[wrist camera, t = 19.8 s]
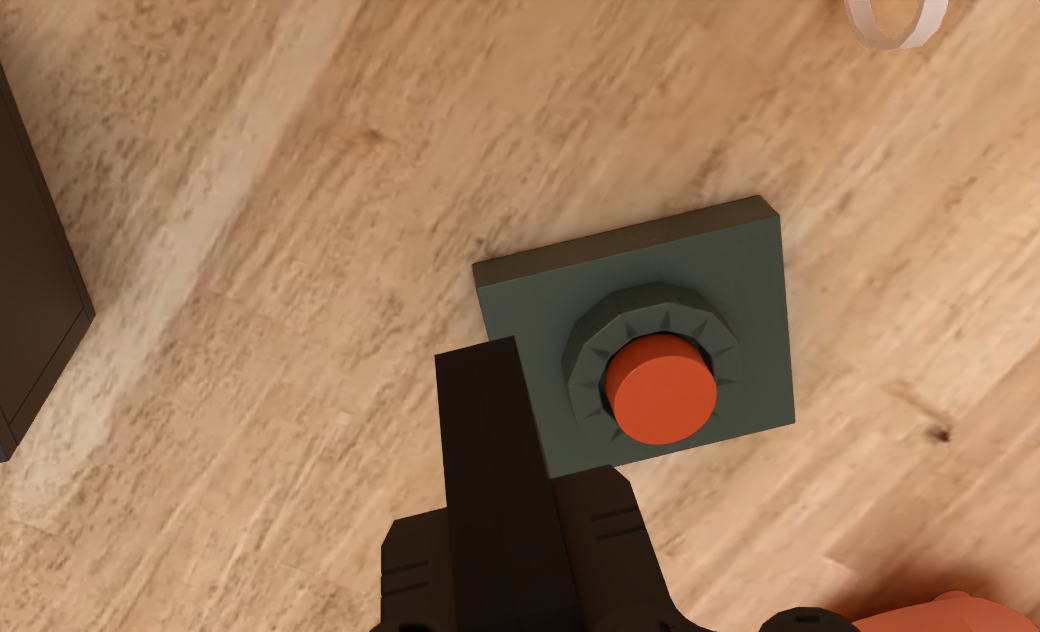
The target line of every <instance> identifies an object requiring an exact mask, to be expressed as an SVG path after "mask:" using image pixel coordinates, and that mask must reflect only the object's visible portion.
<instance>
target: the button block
mask: <svg viewBox="0 0 1040 632" xmlns="http://www.w3.org/2000/svg"><path fill="white" fill-rule="evenodd" d="M472 271H473V276H474V282H475V287H476V292H477V296H478V299H479V303H480V307H481V311H482V315H483V319H484V323H485V327H486V330H487V334H488V338H489V341H493V340H497V339H501V338H505V337H509V336H513V335H514V336H515V340H516V344H517V348H518V352H519V356H520V360H521V363H522V367H523V371H524V375H525V379H526V383H527V387H528V391H529V394H530V398H531V402H532V406H533V410H534V414H535V418H536V422H537V426H538V429H539V433H540V437H541V441H542V445H543V449H544V453H545V457H546V461H547V465H548V470H549V474H550V478H551V479H552V478H556V477H560V476H564V475H568V474H572V473H576V472H580V471H584V470H588V469H592V468H596V467H600V466H604V465H608V464H610V465H611V466H612V467H616V466H620V465H624V464H629V463H633V462H637V461H641V460H645V459H649V458H653V457H657V456H661V455H666V454H670V453H674V452H678V451H682V450H686V449H690V448H694V447H698V446H703V445H707V444H711V443H715V442H719V441H723V440H727V439H731V438H735V437H740V436H744V435H748V434H752V433H756V432H760V431H764V430H768V429H772V428H777V427H781V426H785V425H789V424H793V423H795V409H794V396H793V383H792V370H791V357H790V344H789V331H788V318H787V304H786V291H785V278H784V265H783V252H782V239H781V226H780V215H779V214H778V213H777V212H776V211H775V210H774V209H773V208H772V207H771V206H770V205H769V204H768V203H767V202H766V201H765V200H764V199H763V198H762V197H761V196H760V195H759V196H755V197H751V198H747V199H742V200H738V201H734V202H730V203H726V204H722V205H717V206H713V207H709V208H705V209H701V210H697V211H693V212H688V213H684V214H680V215H676V216H672V217H668V218H663V219H659V220H655V221H651V222H647V223H643V224H639V225H634V226H630V227H626V228H622V229H618V230H614V231H609V232H605V233H601V234H597V235H593V236H589V237H585V238H580V239H576V240H572V241H568V242H564V243H560V244H555V245H551V246H547V247H543V248H539V249H535V250H531V251H526V252H522V253H518V254H514V255H510V256H506V257H501V258H497V259H493V260H489V261H485V262H481V263H477V264H473V265H472ZM652 334H670V335H675V336H678V337H681V338H683V339H685V340H686V341H688V342H690V343H691V344H692V345H693V346H694V347H695V348H696V349H697V351H698V352H699V354H700V355H701V357H702V359H703V361H704V362H705V364H706V366H707V368H708V369H709V371H710V373H711V374H712V376H713V378H714V381H715V384H716V389H717V396H716V403H715V406H714V409H713V411H712V413H711V415H710V417H709V418H708V420H707V421H706V422H705V423H704V424H703V426H702V427H701V428H699V429H698V430H697V431H696V432H694V433H693V434H691V435H690V436H688V437H686V438H684V439H682V440H679V441H676V442H673V443H668V444H659V445H658V444H647V443H643V442H640V441H637V440H635V439H633V438H632V437H630V436H628V435H627V434H626V433H625V432H624V431H623V430H622V429H621V428H620V426H619V425H618V423H617V421H616V418H615V416H614V413H613V410H612V408H611V405H610V402H609V400H608V397H607V394H606V390H605V377H606V372H607V369H608V367H609V365H610V363H611V361H612V359H613V358H614V356H615V355H616V354H617V353H618V352H619V351H620V350H621V349H622V348H623V347H625V346H626V345H627V344H629V343H630V342H632V341H634V340H636V339H638V338H641V337H644V336H647V335H652Z"/></svg>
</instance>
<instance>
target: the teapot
mask: <svg viewBox="0 0 1040 632" xmlns="http://www.w3.org/2000/svg"><path fill="white" fill-rule="evenodd" d="M852 624H853V625H855V626H856V627H857V628H858V629H859V630H860V631H861V632H1040V631H1039V630H1038V629H1037V627H1036V626H1035V625H1034V624H1033V623H1032V622H1031V621H1030V620H1029V619H1027V618H1026V617H1025V616H1023V615H1021V614H1020V613H1018V612H1016V611H1014V610H1012V609H1010V608H1008V607H1005V606H1003V605H1000V604H998V603H995V602H992V601H989V600H986V599H982V598H978V597H971V596H970V595H969V594H968V593H966V592H964V591H949V592H945V593H943V594H941V595H939V596H937V597H936V598H934V599H933V600H932V601H931V602H928V603H923V604H918V605H914V606H909V607H904V608H900V609H896V610H893V611H889V612H885V613H881V614H878V615H875V616H871V617H868V618H864V619H861V620H858V621H855V622H853V623H852Z"/></svg>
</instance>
